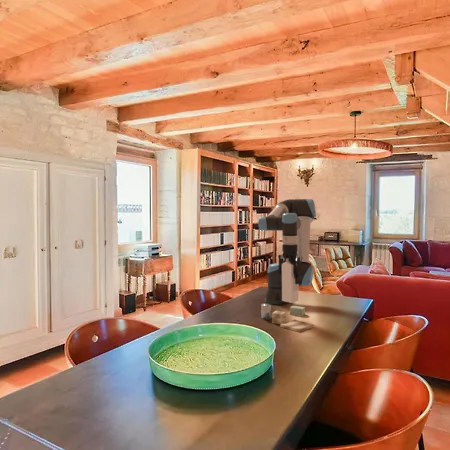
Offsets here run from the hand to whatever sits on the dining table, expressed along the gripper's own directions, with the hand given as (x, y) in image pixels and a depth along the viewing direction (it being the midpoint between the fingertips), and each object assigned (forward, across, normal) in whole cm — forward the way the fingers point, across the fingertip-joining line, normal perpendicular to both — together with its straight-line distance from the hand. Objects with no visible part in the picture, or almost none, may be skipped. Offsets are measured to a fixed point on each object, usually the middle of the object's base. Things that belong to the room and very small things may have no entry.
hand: (290, 289), depth 189 cm
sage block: (+15, -2, +8) cm, 17 cm away
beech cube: (+15, 0, -10) cm, 18 cm away
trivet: (+15, +11, -9) cm, 20 cm away
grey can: (+15, -9, -9) cm, 19 cm away
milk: (+6, 0, 0) cm, 6 cm away
